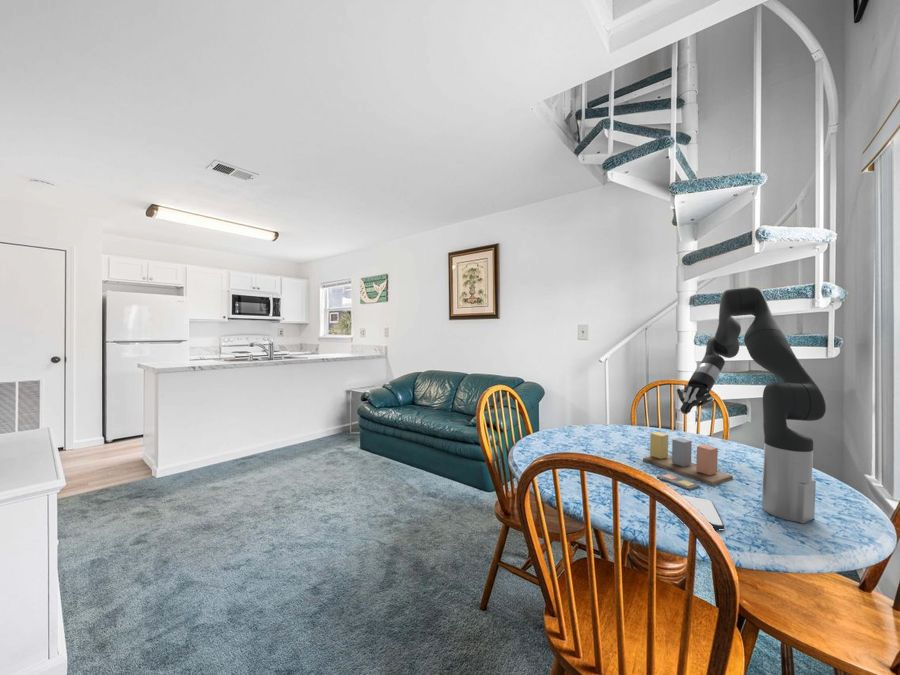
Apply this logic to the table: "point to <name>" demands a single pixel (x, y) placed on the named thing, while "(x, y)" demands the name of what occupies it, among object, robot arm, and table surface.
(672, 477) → the card
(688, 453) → the grey rectangular block
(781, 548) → the table surface
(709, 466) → the salmon pink block
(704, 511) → the phone case
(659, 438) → the yellow tall block
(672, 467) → the keypad base
